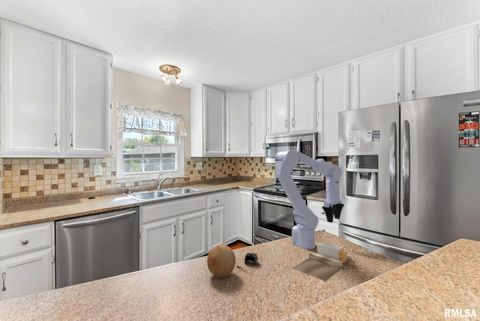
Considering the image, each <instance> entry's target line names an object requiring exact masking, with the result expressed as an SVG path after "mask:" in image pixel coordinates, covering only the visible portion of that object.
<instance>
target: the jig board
mask: <svg viewBox="0 0 480 321" xmlns="http://www.w3.org/2000/svg"><path fill="white" fill-rule="evenodd" d="M352 260H353V258H352V255H351V254H348V253H347V260H346V261H345V262H344V263H343V262H342V261H339V260H335V259H332V258H329V257H326V256H322V255H319V254H317V252H316V253H315V252H312V251H310V252H308V258H307V259H305V260H303V261H301V262H300V263H298V264H296V265H295V266H292V269H294V270H295V271H298V272H301V273H304V274H306V275H308V276H311V277H313V278H316V279H319V280H321V281H324V282H327V281H329V280H330V278H332V277H333V276H334V275H335V274H337V273H338V272H339V271H340V270H341V269H343V268H344V267H345V266H346V265H348V263H350V262H351V261H352Z"/></svg>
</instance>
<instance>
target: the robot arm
mask: <svg viewBox="0 0 480 321" xmlns="http://www.w3.org/2000/svg"><path fill="white" fill-rule="evenodd" d="M273 162H274V164H275V173H276V177H277V179H278V181H279V183H280V185H281V187H282V189H283V191H284V193H285V195H286V197H287V199H288V200H289V202H290V204H291V206H292V208H293V211H292V214H293V219H294V222H295V223H296V225H294V226H293V227H292V230H291V245H292V246H296V247H298V248H300V249H305V250H313V249H315V248H316V236H315V235H316V229H317V228H318V225H319V222H320V221H319V218H318V215H316V214H315V213H314V212H313V210H312V209H311V208H310V207H308V205H307V204H306V202H305V200H304V198H303V197H302V194H301V192H300V190H299V188H298V186H297V184H296V182H295V181H294V178H293V177H292V174H291V173H292V172H293V170H294V169H295V167H296V166H297V164H300V163H301V164H303V165H306V166H309V167H312V170H313V171H315V172H316V173H319V174H321V175H323V176H324V177H325V189H326V192H325V193H326V194H325V195H326V200H325V201H324V202H323V205H322V206H321V209H322V210H323V212H324V214H325V217H326V221H327V223H333V222H334V220H340V219H341V215H342V211H343V209H344V206H345V204H344V202H343V200H342V198H341V190H340V189H341V186H340V183H341V182H340V181H341V179H342V178H341V177H342V175H343V170H342V168H341V167H340V166H339V165H338V164H337V165H335V164H332V162H327V161H325V159H324V158H318V159H314V158H312V157H310V156H309V155H306V154H304V153H302V152H301V151H297V150H296V149H289V150H279V151H278V152H276V154H275V157H274V159H273Z"/></svg>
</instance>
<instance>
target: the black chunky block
mask: <svg viewBox="0 0 480 321" xmlns="http://www.w3.org/2000/svg"><path fill="white" fill-rule="evenodd" d="M243 260H244V265H246V264H247V263H248V262H251V263H254V267H255V266H257V264H258V262H259V257H258V254H257V253H254V252H247V253H246V254H245V255H244V259H243ZM236 268H238V269H242V267H241V266H239V265H237V266H236Z"/></svg>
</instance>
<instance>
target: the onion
mask: <svg viewBox="0 0 480 321" xmlns="http://www.w3.org/2000/svg"><path fill="white" fill-rule="evenodd" d="M236 263H237V260H236V255H235V252H234V251H233V249H232V248H231V247H230V246H228V245H227V244H222V243H220V244H218V245H216V246H214V247H213V248H212V249H211V250H210V251H209V253H208V254H207V258H206V265H207V269H208V271H209V272H210V273H211V275H213V276H214V277H217V278H225V277H227V276H229V275H230V274H231V273H233V271H234V270H235V267H236Z"/></svg>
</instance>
